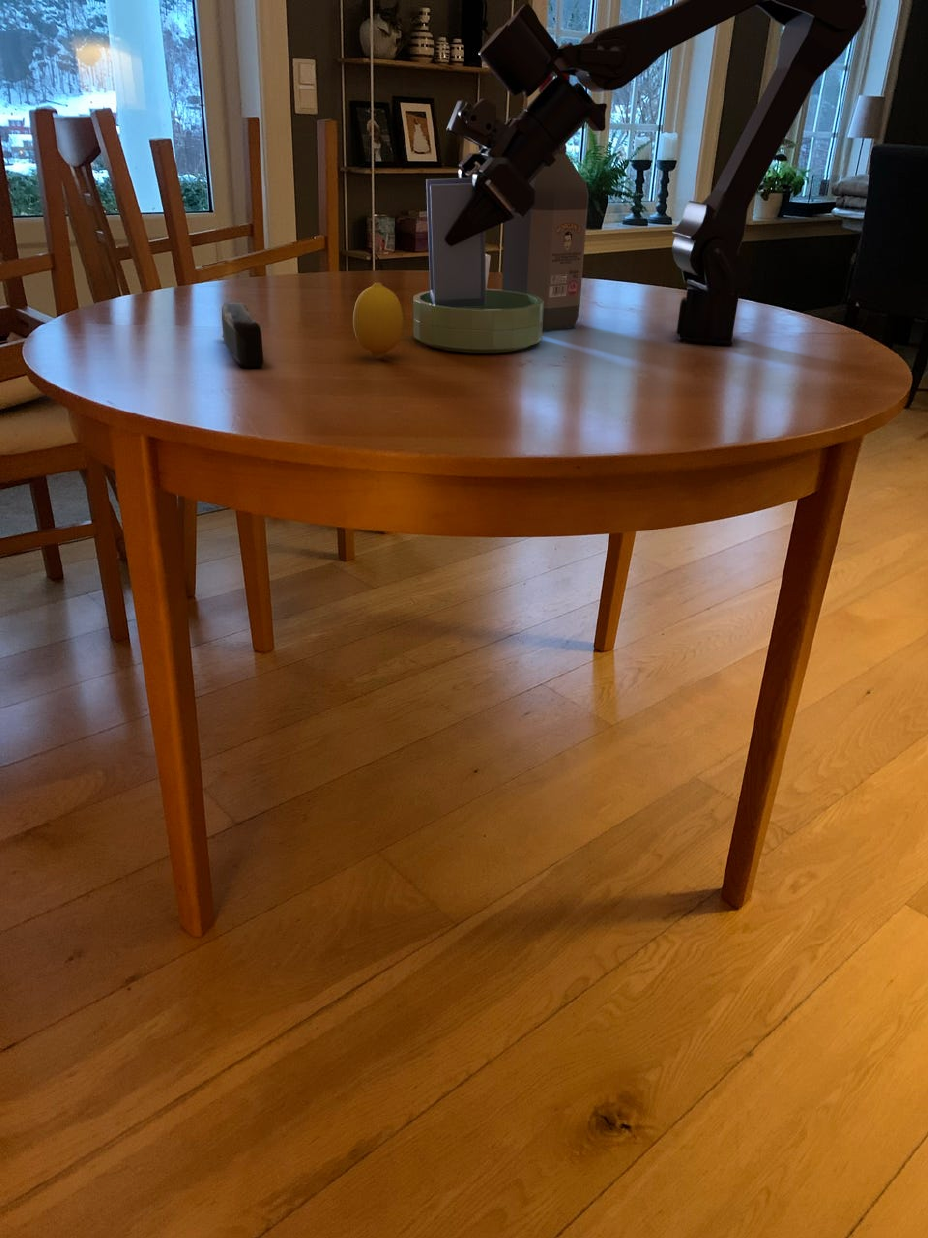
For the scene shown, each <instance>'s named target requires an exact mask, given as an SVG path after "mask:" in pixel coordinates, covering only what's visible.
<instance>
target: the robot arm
mask: <svg viewBox="0 0 928 1238" xmlns="http://www.w3.org/2000/svg"><path fill="white" fill-rule="evenodd" d="M866 1H867V0H679V1H677V2H675V3H672V4H671V5H669V6H667V7H665V8H663V9H661V10H660V11H657V12H656V13H654V14H652V15H649V16H645V17H642V18H639V19H634V20H632V21H628V22H624V23H621V24H618V25H614V26H611V27H610V26H609V27H607V28H604V29H602V30H601V29H600V30H598V31H594V32H592V33H590V34H588V35H586V37H584V38H583V39H582V40H581V41H580V42H579V43H577V44H573V43H572V42H568V43H564V44H561V45H558V43H557V42H556V41H555V40H554V38H553V37H552V36H551V34H550V33H549V32H548V31H547V29H546V28H545V26H544V25H543V24H542V22H541V21H540V19H539V17H538V15H537V13H536V11H535V10H534V8H533V7H532V6H531V5H530V3H525V4H523V5H522V6H521V7H519V9H518V10H517V11H516V12H515V14H513V15H512V16H511V17H510V18H509V19H508V20H507V22H506V23H505V24H504V25H503V26H501V27H499V28H498V29H497V30H495V32H493V34H492V35H491V36H490V37H489V39H488V40H487V41H485V43H484V45H483V46H482V47H481V49H480V51H478V56H479V57H480V58H481V60H482V61H483V62H484V63H485V64H486V65H487V67H488V68H489V69H490V71H491V72H492V73H493V74H494V76H496V78H497V79H498V80H499V82H500V83H501V84H502V85H503V87H504V88H505V89H506V91H508V93H509V94H510V95H511V97H513V98H514V97H516V96H517V95H520V94H521V93H522V95H523V96H524V97H525V98H529V97H531V96H532V95H533V94H534V93H535V92H536V91H537V90H539V87H540V86H541V85H542V84H543V82H544V81H545V80H546V79H547V78H548V76H549V75H550V76H551V78H552V80H551V81H550V82H549V83H548V84H547V85H546V86H545V88H544V89H543V90H542V91H541V92H539V93H538V94H537V95H536V96H535V98H533V100H532V101H531V102H530V103H529V104H528V105H527V107H525V109H524V110H523V111H522V112H521V113H520V114H519V115H518V116H517V117H509V118H508V119H507V120H506V121H505V122H502V121H501V119H499V118H497V105H496V104H495V103H493V102H491V101H489V100H488V99H486V98H480V99H479V100H478V101H477V102H476V103H474V105H473V104H471V102H469V101H465V100H463V99H462V100H458V101H457V102H456V105H455V107H454V109H453V112H452V115H451V117H450V120H449V122H448V125H447V127H446V131H447V132H449V133H450V134H452V135H454V136H456V137H457V136H459V137H462V138H464V139H465V140H466V141H469V142H471V143H473V144H475V145H476V146H477V147H480V149H479V151H478V152H469V153H467V154H466V156H465V157H464V158H463V159H462V160H461V161H460V162H459V164H458V167H459V169H458V178H472V196H471V198H470V200H469V201H468V203H467V204H466V206H465V207H464V209H463V210H462V212H461V213H460V215H459V216H458V218H457V219H456V221H455V222H454V224H453V226H452V227H451V229H450V230H449V232H448V233H447V235H446V237H445V241H446V242H447V243H448V244H449V245H450V246H453V245H455V244H457V243H459V242H462V241H464V240H466V239H468V238H470V237H472V236H475V235H477V234H479V233H481V232H484V231H485V232H486V231H489V230H491V229H493V228H494V227H497V226H500V225H502V224H505V222H506V221H509V220H512V219H514V218H515V217H514V216H513V215H512V213H511V212H510V211H511V210H512V208H513V207H514V209H515V210H514V212H515V213H516V214H517V215H518V216H520V217H523V216H524V215H525V214H526V213H527V212H528V211H529V210H530V208H531V207H532V206H533V205H534V204H535V190H534V189H533V188H532V186H531V185H530V184H529V183H530V182H531V181H532V180H533V179H534V178H535V177H536V176H537V175H538V173H539V172H540V171H541V170H542V169H543V168H544V167H545V166H546V167H550V166H551V165H552V164H553V163H554V162H555V161H556V159H555V158H554V156H555V155H556V154H557V153H558V152H559V151H560V150H561V149H562V147H563V146H564V145H565V144H568V142H569V141H570V140H571V139H572V138H573V137H574V136H575V134H577V132H578V131H579V130H580V129H581V128H582V127H583V126H584V125H585V124H587V126H588V127H589V128H590V130H592V132H603V131H605V130H606V112H607V108H608V104H607V103H605V102H603V103H602V102H601V103H596V102H595V100H594V99H593V98H592V97H591V95H590V94H589V92H588V91H591V92H593V93H601V92H609V91H616V90H619V89H622V88H624V87H625V86H626V85H629V83H630V82H632V81H634V80H635V79H636V78H637V77H639V76H640V75H641V74H642V73H643V72H645V71H646V70H648V69H649V68H650V67H651V66H652V65H653V64H654V63H655V62H656V61H657V60H659V59H660V58H661V57H662V56H664V55H665V54H666V53H667V52H668V51H670V50H671V49H673V48H675V47H678V46H679V45H682V44H683V43H685V42H687V41H689V40H691V39H692V38H695V37H696V36H699V35H700V34H702V33H704V32H706V31H708V30H710V29H712V28H715V27H716V26H718V25H719V24H722V23H724V22H725V21H727V20H730V19H731V18H733V17H735V16H737V15H739V14H742V13H743V12H746V11H747V10H749V9H751V8H753V7H757V8H759V9H760V10H761V11H763V13H765V14H766V15H767V16H768V17H769V19H771V20H772V21H774V22H776V23H777V24H779V25H781V26H783V27H784V28H783V31H782V33H781V37H780V41H779V48H778V57H777V63H776V66H775V69H774V72H773V74H772V75H771V78H770V79H769V81H768V83H767V85H766V87H765V89H764V91H763V93H762V95H761V97H760V99H759V101H758V102H757V104H756V106H755V109H754V111H753V113H752V115H751V116H750V118H749V120H748V122H747V124H746V126H745V128H744V129H743V132H742V134H741V136H740V137H739V140H738V142H737V144H736V145H735V148H734V150H733V152H732V154H731V156H730V157H729V159H728V160H727V163H726V165H725V167H724V169H723V171H722V173H721V175H720V177H719V179H718V181H717V182H716V185H715V186H714V188H713V190H712V191H711V192H710V194H709V195H708V196H707V197H706V198H705V199H704V200H703V201H702V202H699V201H695V200H694V201H693V200H689V201H688V203H687V204H686V206H685V208H684V211H683V214H682V217H681V220H680V222H679V223H678V225H677V226H676V227H675V228H674V229H673V230H672V232H671V234H672V235H674V236H675V237H674V239H673V242H672V245H671V253H672V256H673V260H674V262H675V264H676V266H677V267H678V268H679V269H680V270H681V274H682V279H683V283H684V284H688V286H687V289H686V296H683V297H681V300H680V302H679V303H680V304H679V311H678V319H677V326H676V334H677V335H679V337H678V341H679V342H685V343H696V344H697V343H698V344H711V345H722V346H723V345H724V346H733V341H734V329H735V322H736V316H737V310H738V303H739V298H740V295H743V294H744V295H745V294H746V293H747V290H748V288H749V286H750V284H751V282H752V280H753V275H752V273H751V272H750V271H749V269H748V268H747V267H746V265H745V263H743V261H742V259H741V258H740V257H739V256H738V253H739V252H740V248H741V245H742V243H743V240H744V238H745V234H746V228H747V227H746V226H747V219H748V211H749V208H750V205H751V203H752V201H753V200H754V197H755V196H756V193H758V190H759V188H760V186H761V185H762V182H764V181H763V180H764V178H765V177H766V176H767V173H768V171H769V169H770V167H771V165H772V164H773V161H774V160H775V158H776V156H777V154H778V152H779V151H780V148H781V147H782V145H783V143H784V142H785V140H786V137H787V135H788V134H789V132H790V130H791V128H792V126H793V124H794V122H795V121H796V118H797V117H798V115H799V113H800V111H801V109H802V107H803V105H804V104H805V102H806V100H807V98H808V96H809V94H810V92H811V90H812V88H813V86H814V85H815V83H816V81H818V79H819V78H820V77H821V76H822V75H823V74H824V73H825V72H826V71H827V70H828V69H829V68H830V67H831V66H832V65H833V64H834V63H835V62H836V61H837V60H838V59H839V58H840V57H841V56H842V54H843V53H844V52H845V50H846V49H847V47H848V46H849V45H850V43H851V42H852V41H853V39H854V38H855V36H856V35H857V34H858V32H859V31H860V29H861V27H863V24H864V22H865V19H866V17H867V13H868V6H867V3H866ZM562 73H564V74H568V75H570V76H572V77H576V78H577V80H578V82H577V83H575V84H572V83H571V81H570V82H569V81H568V80H567V79H566V78H565V77H564V75H563V74H562ZM587 90H588V91H587Z"/></svg>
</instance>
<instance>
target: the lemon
mask: <svg viewBox="0 0 928 1238" xmlns="http://www.w3.org/2000/svg"><path fill="white" fill-rule="evenodd" d="M352 325H353V326H352V327H353V332H354V335H355V337H356V340H357V341H358V343H359V344H360V345H361V346H362V348H364V349H365V350H366V351H369V352H371V353H372V355H374V357H375V358H377V359H381V358H382V357H384V356H385V354H386V353H387V352H389V351H391V350H393V349H394V348H395V347H396V346H397V345H398V343H399V342H400V341H401V339H402V336H403V333H404V332H403V331H404V314H403V309H402V304H401V303H400V300H399V298H398V296H397V295H396V294H395V293H394V292H393V291H392V290H391V289H389V288H388V287H386V286H383V284H382V283H381V282H374V283H373V284H372V286H369V287H368V288H365V289H364V290H363V291H362V292H361V293H360V294H359V295H358V297H357V299H356V301H355V303H354V307H353V312H352Z"/></svg>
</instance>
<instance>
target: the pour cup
mask: <svg viewBox="0 0 928 1238" xmlns="http://www.w3.org/2000/svg"><path fill="white" fill-rule="evenodd" d="M425 183H426V185H425V186H426V209H427V210H426V211H427V235H428V237H427V238H428V261H429V262H428V264H429V265H428V266H429V291H430V293H431V299H432V301H433V304H435V305H440V306H447V307H470V306H486V257H485V254H486V231H484V232H481V233H479V234H477V235H475V236H472V237H470V238H468V239H466V240H464V241H462V242H459V243H457V244H455V245H453V246H450V245H449V244H448V243H447V242H446V241H445V237H446V235H447V233H448V232H449V230H450V229H451V227H452V226H453V224H454V222H455V221H456V219H457V218H458V216H459V215H460V213H461V212H462V210H463V209H464V207H465V206H466V204H467V203H468V201H469V200H470V198H471V196H472V178H459V177H450V178H449V177H447V178H446V177H445V178H426V179H425Z"/></svg>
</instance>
